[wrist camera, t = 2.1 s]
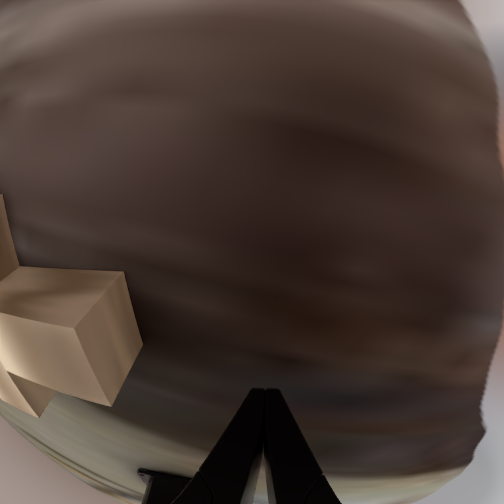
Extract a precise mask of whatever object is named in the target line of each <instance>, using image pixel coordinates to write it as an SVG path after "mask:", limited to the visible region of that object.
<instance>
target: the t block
mask: <svg viewBox="0 0 504 504" xmlns="http://www.w3.org/2000/svg"><path fill="white" fill-rule="evenodd" d="M142 346H143V343H142V340H141V336H140V333H139V329H138V326H137V322H136V319H135V315H134V312H133V308H132V304H131V300H130V296H129V292H128V288H127V284H126V280H125V275H124V271H100V270H78V269H58V268H40V267H24V266H20V265H19V261H18V258H17V254H16V251H15V247H14V244H13V240H12V236H11V232H10V228H9V223H8V219H7V214H6V209H5V204H4V199H3V194H0V398H1V399H2V400H4V401H6V402H7V403H9V404H11V405H13V406H15V407H17V408H19V409H21V410H23V411H25V412H27V413H29V414H31V415H33V416H35V417H37V418H40V416H41V414H42V413H43V411H44V409H45V408H46V406H47V405H48V403H49V402H50V400H51V398H52V397H53V395H54V394H55V392H56V391H60V392H62V393H66V394H69V395H72V396H75V397H78V398H81V399H85V400H88V401H92V402H95V403H99V404H103V405H107V406H111V407H112V404H113V402H114V400H115V398H116V396H117V394H118V392H119V390H120V388H121V386H122V385H123V383H124V381H125V379H126V377H127V375H128V373H129V371H130V369H131V367H132V365H133V363H134V361H135V359H136V357H137V356H138V354H139V352H140V350H141V348H142Z"/></svg>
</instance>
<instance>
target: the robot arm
mask: <svg viewBox="0 0 504 504" xmlns="http://www.w3.org/2000/svg"><path fill="white" fill-rule="evenodd" d="M263 445H264V462H265V472H266V482H267V492H268V501H269V504H342V503H341V502H340V501H339V499H338V498H337V496H336V495H335V493H334V491H333V490H332V488H331V486H330V485H329V483H328V481H327V479H326V477H325V476H324V475H323V472H322V470H321V469H320V467H319V465H318V463H317V461H316V459H315V457H314V455H313V453H312V452H311V450H310V448H309V446H308V444H307V442H306V440H305V438H304V436H303V434H302V432H301V430H300V429H299V427H298V425H297V423H296V421H295V419H294V417H293V415H292V413H291V411H290V409H289V407H288V405H287V403H286V401H285V399H284V397H283V395H282V393H281V391H280V390H279V389H277V388H267V389H266V391H265V389H264V388H252V389H251V390H250V392H249V393H248V395H247V396H246V398H245V400H244V401H243V403H242V404H241V406H240V408H239V409H238V411H237V412H236V414H235V416H234V417H233V419H232V420H231V422H230V423H229V425H228V427H227V428H226V430H225V431H224V433H223V434H222V436H221V437H220V439H219V440H218V442H217V443H216V445H215V446H214V448H213V449H212V451H211V452H210V454H209V455H208V457H207V458H206V460H205V461H204V463H203V464H202V465H201V467H200V468H199V471H198V472H196V474H195V475H194V477H193V478H192V479H185V478H179V477H173V476H168V475H163V474H158V473H154V472H149V471H145V470H140V469H138V471H137V474H138V475H139V477H140V478H141V479H142V480H143V481H144V482H145V483H146V485H147V487H146V491H145V494H144V497H143V501H142V504H252V503H253V499H254V494H255V489H256V485H257V480H258V475H259V470H260V465H261V460H262V454H263Z"/></svg>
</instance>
